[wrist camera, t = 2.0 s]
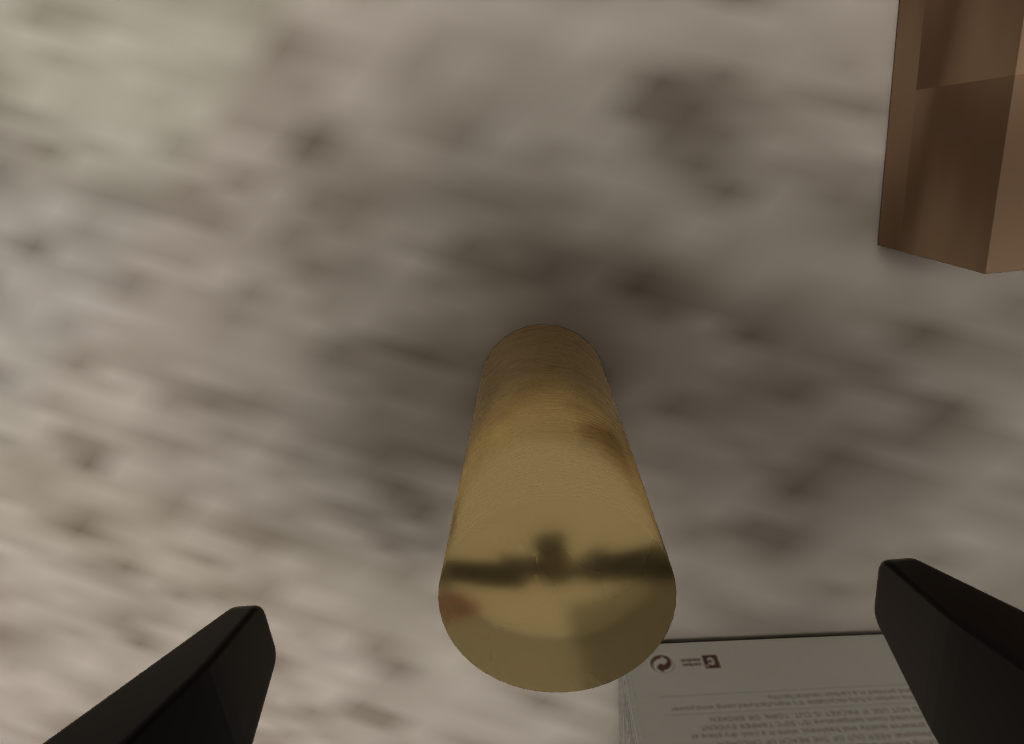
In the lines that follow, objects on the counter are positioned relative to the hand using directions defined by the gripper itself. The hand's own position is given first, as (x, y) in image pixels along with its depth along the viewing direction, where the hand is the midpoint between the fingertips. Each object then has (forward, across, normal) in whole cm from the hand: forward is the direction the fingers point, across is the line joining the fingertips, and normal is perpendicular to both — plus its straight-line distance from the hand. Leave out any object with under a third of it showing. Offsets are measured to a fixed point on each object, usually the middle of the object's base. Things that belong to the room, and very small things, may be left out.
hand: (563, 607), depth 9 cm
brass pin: (+9, 0, 0) cm, 9 cm away
